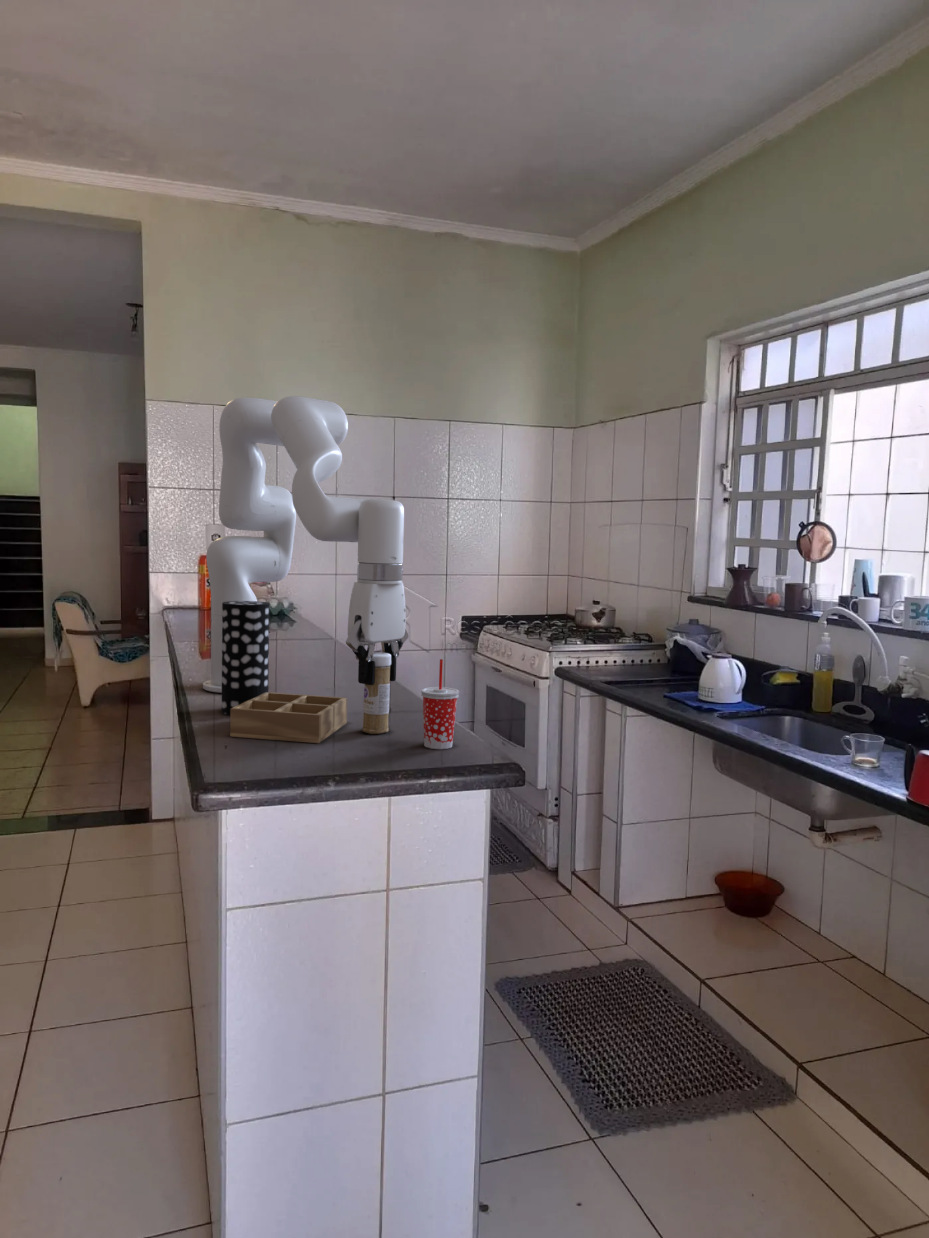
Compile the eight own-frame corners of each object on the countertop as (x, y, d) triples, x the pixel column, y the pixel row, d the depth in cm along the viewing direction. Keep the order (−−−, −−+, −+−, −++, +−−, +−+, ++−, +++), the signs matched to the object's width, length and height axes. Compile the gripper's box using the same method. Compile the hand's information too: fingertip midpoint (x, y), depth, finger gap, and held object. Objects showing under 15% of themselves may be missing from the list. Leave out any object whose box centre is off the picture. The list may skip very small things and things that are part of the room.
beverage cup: (453, 751, 136) (456, 663, 134) (415, 748, 137) (418, 660, 135) (460, 742, 142) (463, 657, 140) (423, 739, 143) (426, 655, 141)
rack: (265, 717, 155) (266, 692, 154) (346, 723, 152) (347, 697, 152) (230, 736, 140) (230, 708, 139) (318, 743, 138) (319, 715, 137)
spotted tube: (256, 717, 154) (257, 605, 152) (213, 714, 156) (213, 603, 154) (275, 708, 162) (276, 602, 160) (234, 705, 164) (235, 600, 162)
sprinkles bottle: (356, 730, 147) (358, 652, 146) (378, 727, 150) (380, 650, 149) (373, 736, 144) (375, 656, 142) (394, 732, 147) (396, 654, 145)
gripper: (396, 572, 153) (393, 673, 155) (327, 573, 140) (325, 685, 141) (429, 574, 149) (425, 679, 151) (361, 576, 135) (358, 691, 137)
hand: (377, 680), depth 146 cm, fingers closed on sprinkles bottle, 4 cm apart
